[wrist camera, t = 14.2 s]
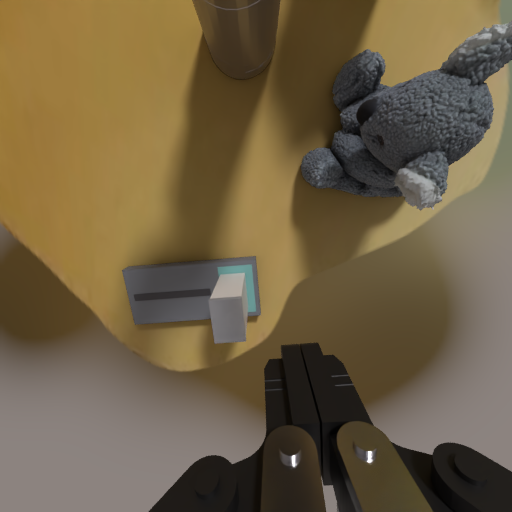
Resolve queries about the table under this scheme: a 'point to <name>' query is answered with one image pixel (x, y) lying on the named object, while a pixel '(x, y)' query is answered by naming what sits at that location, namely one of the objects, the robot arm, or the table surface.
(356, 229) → the table surface
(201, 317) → the board
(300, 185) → the table surface
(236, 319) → the slider tab
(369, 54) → the koala plush
